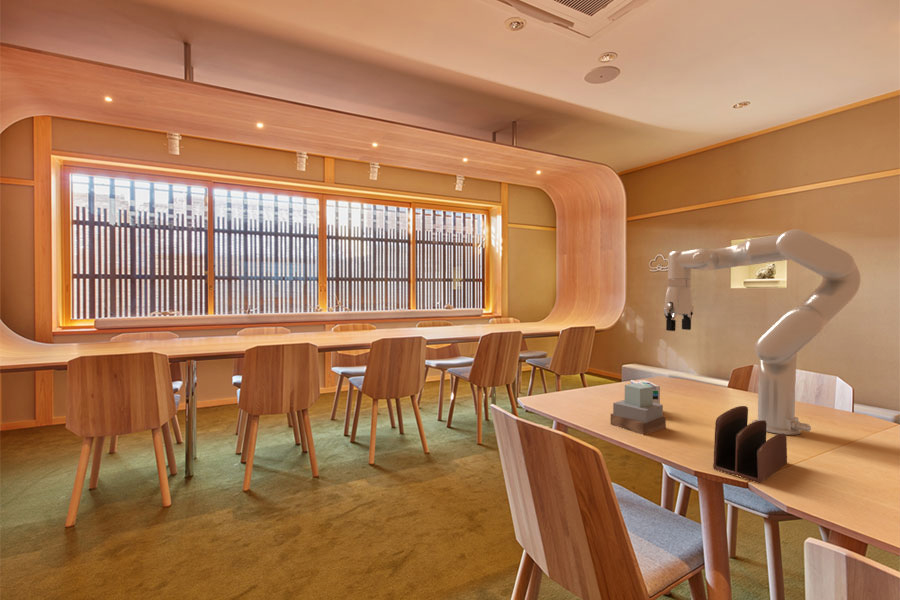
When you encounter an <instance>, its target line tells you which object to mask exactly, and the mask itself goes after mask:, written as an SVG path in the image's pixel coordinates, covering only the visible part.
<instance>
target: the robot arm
mask: <svg viewBox="0 0 900 600" xmlns="http://www.w3.org/2000/svg"><path fill="white" fill-rule="evenodd" d="M789 260H791V261H792V262H795V263H797V264H798V265H800V266H802V267H804V268H806V269H808V270H810V271H811V272H814V273H816V274H817V275H819V276H821V277H822V280H821V283H820V284H819V285H818V287H817V288H815V289H814V290H813V291H812V292H810V294H809V296H807V297H806V298H805V299H804V300H802V302H801V303H799V304H798V305H797V306H796V307H794V308H791V309H789V310H788V311H787V312H785V313H784V314H783V315H781V317H780V318H779V319H778V320H777V321H776V322H775V323H774V324H773V325H771V326H770V328H768V329H767V330H766V331H765V332H764V333H763V334H762V335H761V336H760V337H759V338H758V339H757V340H756V342H755V345H754V351H755V354H756V356H757V358H758V359H759V361H758V381H757V382H758V385H757V388H758V389H757V394H758V395H757V399H758V400H757V419H753V420H752V421H751V423H753V422H756V421H759V420H765V421H766V423H767V426H766V433H767V432H768V433H770V434H771V433H772V434H776V435H778V434H786V436H787V435H788V436H791V435H792V436H795V435H800V434H801V433H802V431H804V432H808V433H810V432H811V430H812V429H811V427H812V425H810V423H809V424H808V423H805V422H801V421H800V420H799V417H796V382H797V375H796V374H797V358H798V352H800V351H801V350H802V349H803V348H804V347H805V346H806V345H808V344H809V343H810V342H811V341H812V340H813V339H815V338H816V336H818V335H819V334H821V332H822V330H823V329H824V327H825V326H826V325H827V324H828V323H829V322H830V321H831V320H833V319H834V317H836V315H838V314H839V313H840V312H841V311H842V310H843V309H844V308H845V307H846V306H848V304H849V303H850V302H851V301H852V300H853V299H854V297H855V296H856V295H857V293H858V291H859V289H860V285H861V272H860V271H859V268H858V265H857V264H856V262H855V259H854V257H853V256H852V255H851V253H849V252H847V251H846V250H843V249H841V248H839V247H837V246H835V245H833V244H831V243H829V242H827V241H825V240H822V239H820V238H818V237H816V236H814V235H812V234H810V233H809V232H806V231H805V230H801V229H797V228H796V229H790V230H787V231H784V232H782V233H780V234H775V235H770V236H769V235H768V236H763V237H759V238H758V237H757V238H756V237H755V238H751V239H750V238H749V239H747V240H744V241H743V242H741V243H738V244H735V245H732V246H731V245H730V246H727V247H720V248H715V249H708V248H700V247H699V248H694V249H690V250H689V249H688V250H683V249H682V250H673V251H670V252H669V253H668V257H667V289H666V293H665V298H664V299H665V301H664V307H663V310H662V311H663V312H664V317H665V321H666V322H665V324H666V325H665V326H666V327H665V328H666V329H665V330H666V331H667V332H668V331H669V332H672V331H673V332H675V331H676V326H677V325H676V322H677V321H676V317H677V316H679V315H680V316H682V318H681V329H682V330H686V331H691V330H692V318H693V317H692V316H693V314H694V313H693V312H694V310H695V307H694V306H693V305H692V304H693V303H692V291H691V288H692V270H699V271H715V270H722V269H729V268H736V267H744V266H745V267H746V266H754V265H759V264H760V265H761V264H767V263H775V262H783V261H789Z"/></svg>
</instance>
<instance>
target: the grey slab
mask: <svg viewBox="0 0 900 600" xmlns="http://www.w3.org/2000/svg"><path fill="white" fill-rule="evenodd" d="M663 407H664V406H663V404H661V403H660V404H657V403H653V405H651V406H645V407H637V406H634V405H630V404H627V403H625V399H623V400H619V401H616V402H613V405H612V408H613V409H612V410H613V411H612V412H613V413H612V414H613V415H615V416H619V417H623V418H627V419H631V420H635V421H639V422H643V423H647V422H650V421H653V420H655V419H658V418H661V417H664V416H663V415H664V414H663V411H664V408H663Z"/></svg>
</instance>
